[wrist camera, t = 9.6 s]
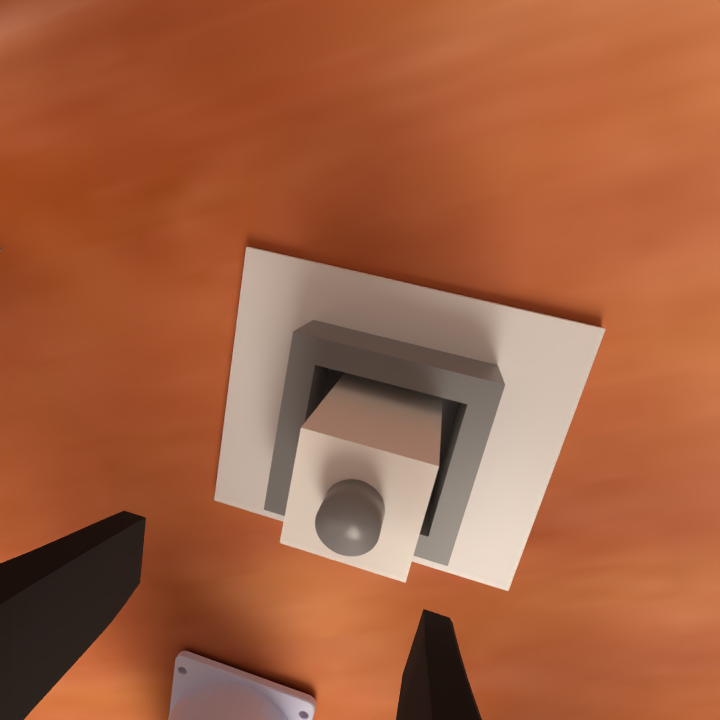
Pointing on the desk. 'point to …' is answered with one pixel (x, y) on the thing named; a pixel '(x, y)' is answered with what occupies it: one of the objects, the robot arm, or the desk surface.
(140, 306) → the desk surface
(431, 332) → the socket dock
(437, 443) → the block
